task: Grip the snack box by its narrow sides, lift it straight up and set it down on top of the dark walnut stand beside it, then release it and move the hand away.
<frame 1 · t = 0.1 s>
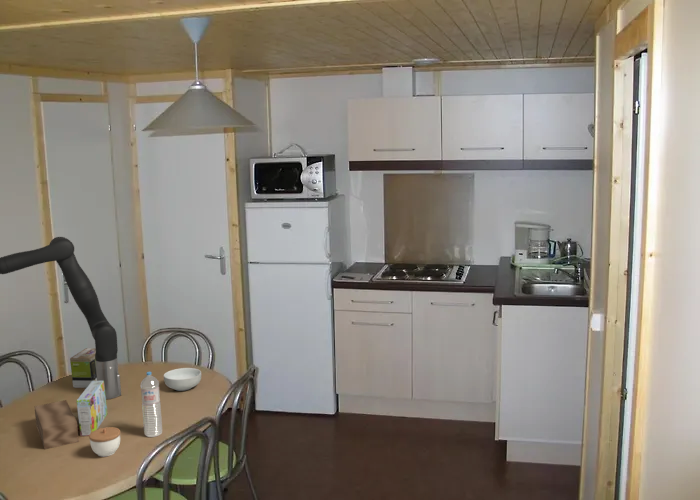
water bottle: (153, 434, 269), on the table
snack box: (94, 425, 279), on the table
cereal bowl: (183, 388, 318), on the table
tea box: (90, 382, 328), on the table
lidded jar: (106, 453, 254), on the table
walnut stand: (56, 433, 272), on the table
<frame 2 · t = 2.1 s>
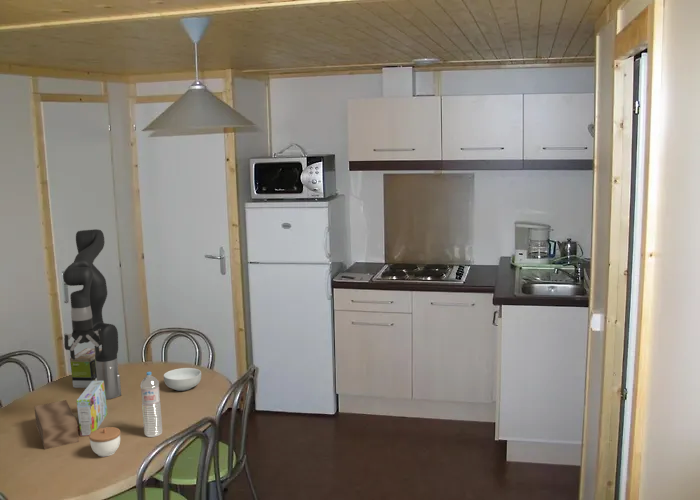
hand: (85, 357, 274), 28 cm above the table, tool pointing down, fingers open, 8 cm apart
nothing on the table moved.
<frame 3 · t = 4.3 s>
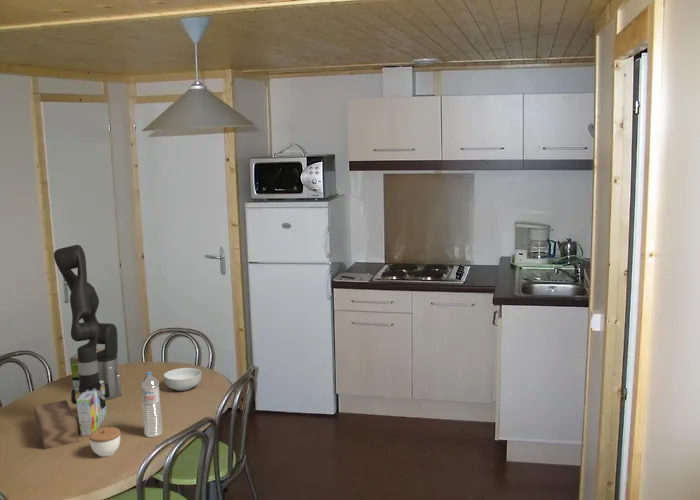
hand: (91, 410, 277), 6 cm above the table, tool pointing down, fingers open, 8 cm apart
nothing on the table moved.
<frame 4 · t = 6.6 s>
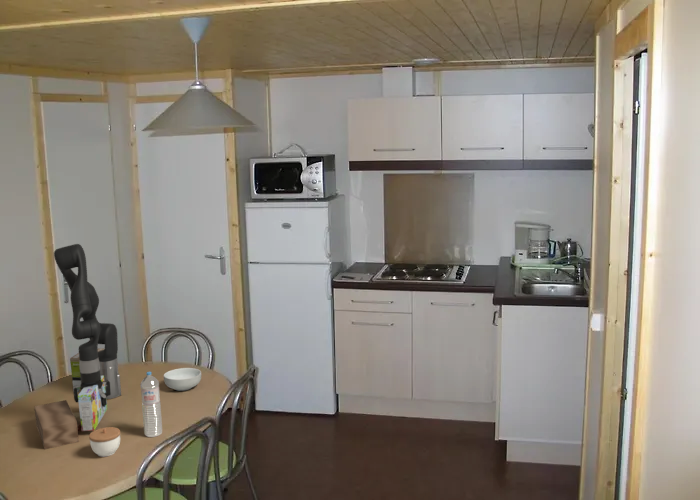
hand: (93, 408, 278), 7 cm above the table, tool pointing down, fingers closed on snack box, 7 cm apart
snack box: (94, 420, 279), point 2 cm above the table, touching gripper
everything else where it was.
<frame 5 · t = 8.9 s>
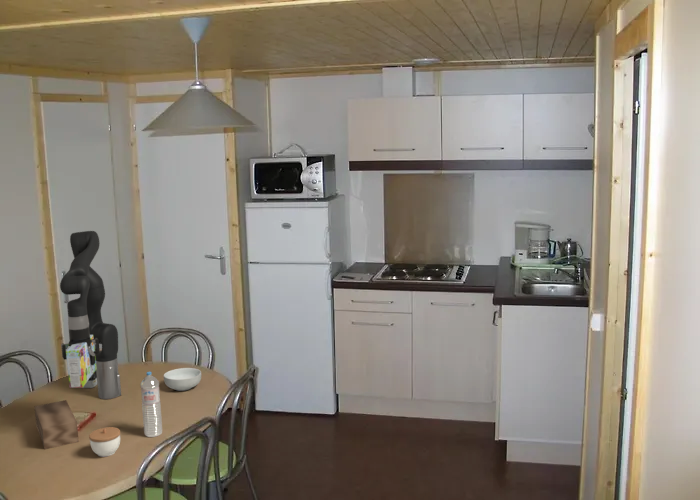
hand: (82, 366, 273), 25 cm above the table, tool pointing down, fingers closed on snack box, 7 cm apart
snack box: (83, 379, 274), point 20 cm above the table, touching gripper
everything else where it was.
when the fingers open (14 cm above the table, at t = 12.7 s): snack box drops 1 cm, resting on walnut stand.
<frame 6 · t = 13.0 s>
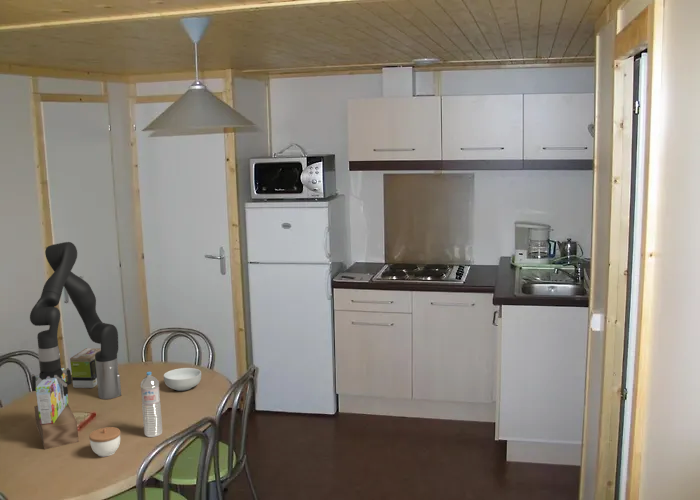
hand: (53, 397, 269), 15 cm above the table, tool pointing down, fingers open, 8 cm apart
snack box: (54, 414, 271), point 8 cm above the table, touching walnut stand
everything else where it was.
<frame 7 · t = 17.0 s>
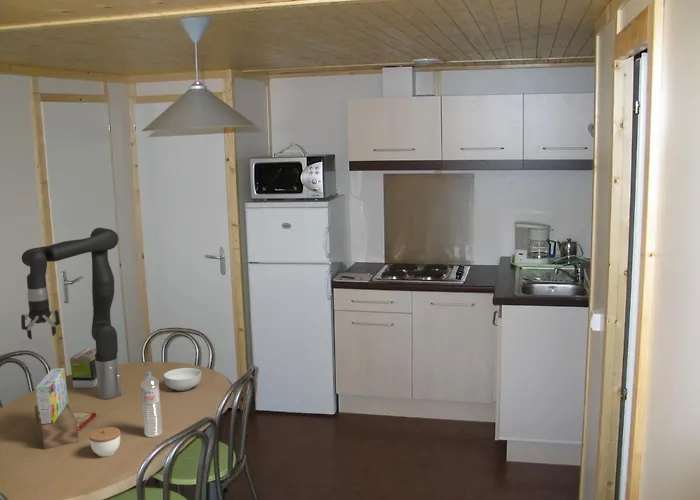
hand: (42, 337, 283), 34 cm above the table, tool pointing down, fingers open, 8 cm apart
nothing on the table moved.
at the end: snack box inside the target area (0.2 cm from its centre), point 7.8 cm above the table; snack box tilted 0°; the gripper is holding nothing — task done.
